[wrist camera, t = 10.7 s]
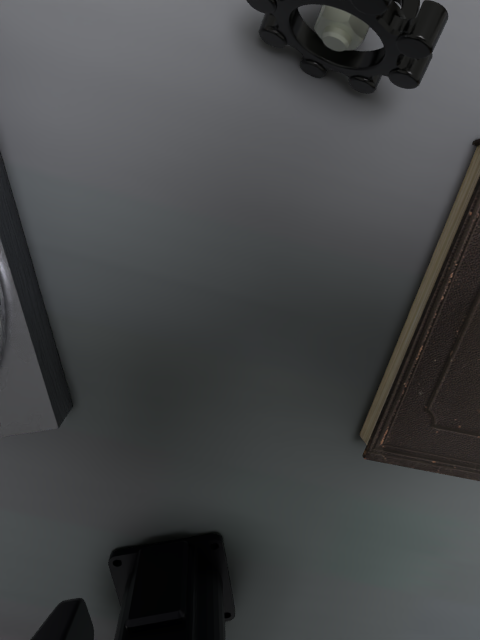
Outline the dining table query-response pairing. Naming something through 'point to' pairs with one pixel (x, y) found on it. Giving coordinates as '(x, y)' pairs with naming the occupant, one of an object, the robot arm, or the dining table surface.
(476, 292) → the hardcover book
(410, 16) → the valve
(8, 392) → the dial scale
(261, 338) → the dining table surface
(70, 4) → the dining table surface
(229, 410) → the dining table surface
